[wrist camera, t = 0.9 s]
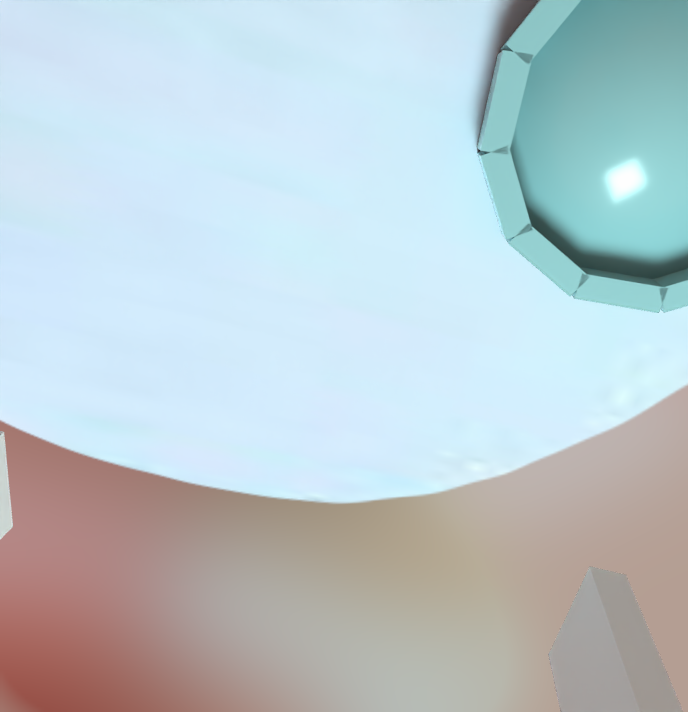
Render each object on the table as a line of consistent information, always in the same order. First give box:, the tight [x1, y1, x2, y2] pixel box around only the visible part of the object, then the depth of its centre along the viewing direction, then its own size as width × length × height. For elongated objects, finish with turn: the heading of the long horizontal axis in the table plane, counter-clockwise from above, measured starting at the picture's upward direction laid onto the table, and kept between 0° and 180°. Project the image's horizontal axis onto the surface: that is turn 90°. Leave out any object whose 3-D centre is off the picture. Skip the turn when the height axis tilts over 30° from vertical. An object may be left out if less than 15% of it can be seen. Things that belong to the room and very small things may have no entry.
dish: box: [477, 0, 688, 313], centre depth 30 cm, size 19×19×2 cm
